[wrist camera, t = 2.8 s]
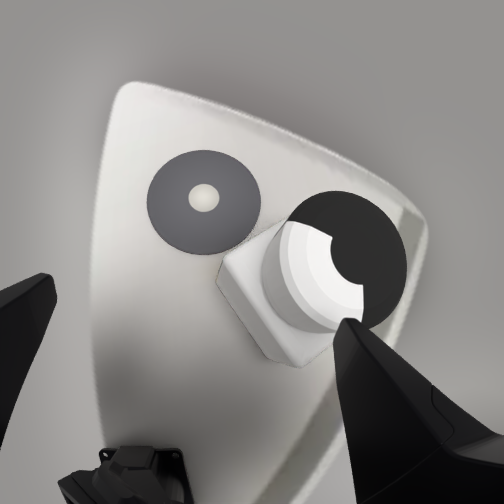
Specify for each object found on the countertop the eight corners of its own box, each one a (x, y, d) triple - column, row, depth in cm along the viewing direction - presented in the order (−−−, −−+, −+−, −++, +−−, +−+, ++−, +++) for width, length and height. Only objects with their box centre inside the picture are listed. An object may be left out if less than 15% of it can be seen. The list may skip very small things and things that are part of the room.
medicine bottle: (289, 232, 24) (361, 149, 13) (340, 305, 23) (447, 276, 12) (213, 280, 22) (230, 222, 11) (268, 360, 21) (342, 385, 10)
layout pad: (267, 250, 23) (268, 248, 23) (148, 259, 22) (147, 258, 21) (252, 150, 26) (253, 148, 25) (148, 155, 24) (147, 153, 24)
